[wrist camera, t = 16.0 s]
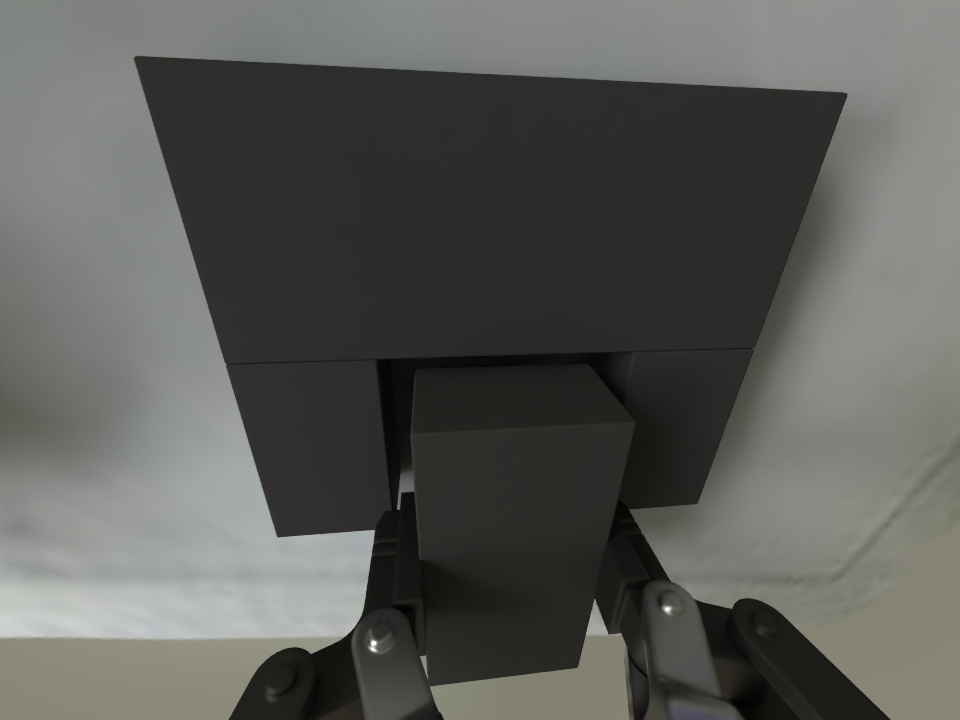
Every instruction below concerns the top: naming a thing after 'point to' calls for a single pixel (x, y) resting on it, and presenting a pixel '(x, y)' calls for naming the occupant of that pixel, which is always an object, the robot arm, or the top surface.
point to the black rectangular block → (513, 512)
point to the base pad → (477, 250)
